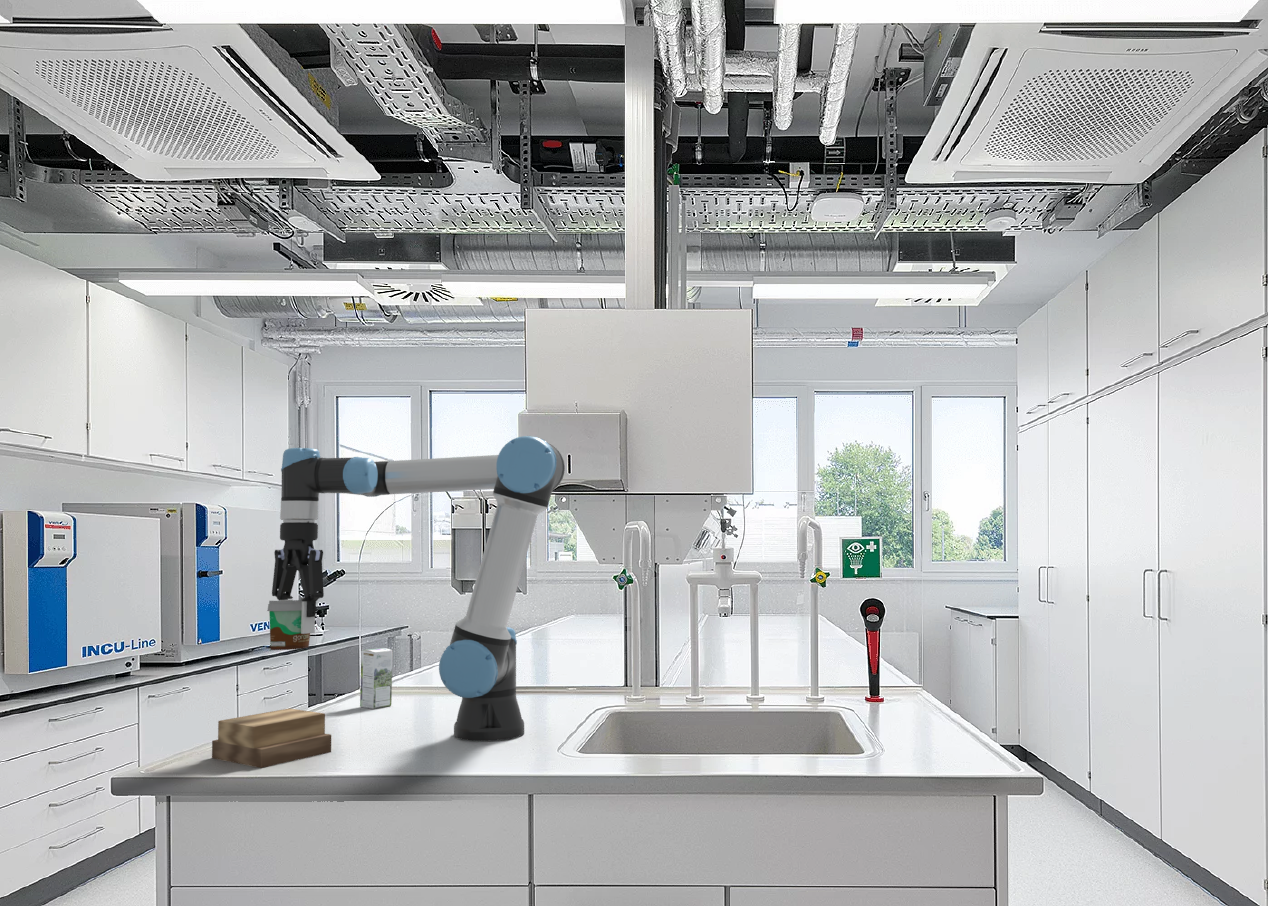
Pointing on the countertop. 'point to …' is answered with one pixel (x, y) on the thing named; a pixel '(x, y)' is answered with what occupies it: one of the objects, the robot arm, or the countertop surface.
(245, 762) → the tower base
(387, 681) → the syrup box
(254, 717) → the tower top
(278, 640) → the food container
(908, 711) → the countertop surface
